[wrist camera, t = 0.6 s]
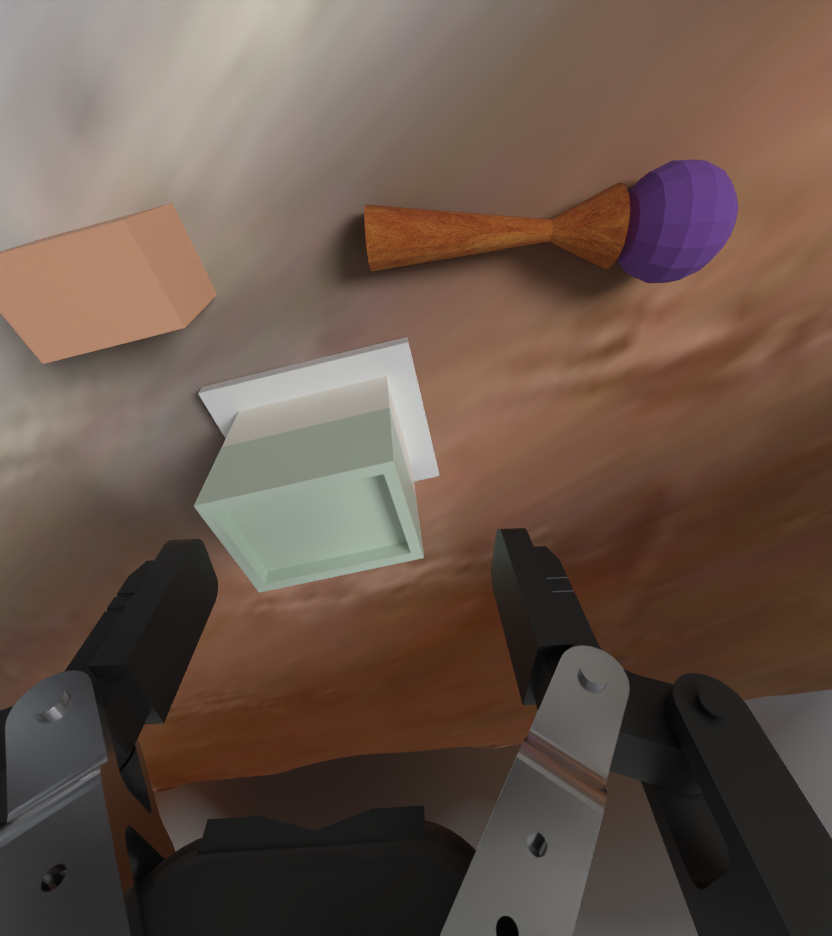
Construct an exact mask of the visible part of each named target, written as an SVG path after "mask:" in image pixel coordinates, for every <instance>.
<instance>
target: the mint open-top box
mask: <svg viewBox="0 0 832 936" xmlns="http://www.w3.org/2000/svg"><path fill="white" fill-rule="evenodd" d="M198 394H199V396H200V398H201V399H202V401H203V403H204V404H205V406H206V407H207V409H208V411H209V412H210V414H211V416H212V417H213V419H214V421H215V422H216V424H217V426H218V427H219V429H220V430H221V432H222V434H223V435H224V437H225V441H224V443H223V445H222V448H221V450H220V452H219V454H218V456H217V458H216V460H215V462H214V464H213V466H212V469H211V471H210V473H209V475H208V477H207V479H206V481H205V483H204V485H203V488H202V490H201V492H200V494H199V496H198V498H197V500H196V502H195V504H194V507H195V509H196V510H197V511H198V513H199V514H200V515H201V517H202V518H203V519H204V521H205V522H206V523H207V524H208V526H209V527H210V528H211V530H212V531H213V532H214V534H215V535H216V536H217V538H218V539H219V540H220V542H221V543H222V544H223V546H224V547H225V548H226V549H227V551H228V552H229V553H230V555H231V556H232V557H233V559H234V560H235V561H236V563H237V564H238V565H239V567H240V568H241V569H242V571H243V572H244V573H245V574H246V576H247V577H248V578H249V580H250V581H251V582H252V584H253V585H254V586H255V588H256V589H257V590H258V592H259V593H260V592H264V591H269V590H274V589H279V588H283V587H288V586H293V585H298V584H302V583H307V582H312V581H317V580H321V579H326V578H331V577H336V576H340V575H345V574H350V573H355V572H359V571H364V570H369V569H374V568H378V567H383V566H388V565H393V564H397V563H402V562H407V561H412V560H416V559H421V558H424V554H423V547H422V539H421V531H420V524H419V516H418V509H417V501H416V494H415V486H414V481H418V480H423V479H427V478H432V477H436V476H439V471H438V467H437V462H436V458H435V454H434V449H433V445H432V441H431V437H430V432H429V428H428V424H427V419H426V415H425V411H424V407H423V402H422V398H421V394H420V389H419V385H418V381H417V377H416V372H415V368H414V364H413V359H412V355H411V351H410V346H409V342H408V338H407V337H404V338H400V339H396V340H392V341H388V342H384V343H380V344H375V345H371V346H367V347H363V348H359V349H355V350H351V351H347V352H343V353H339V354H335V355H330V356H326V357H322V358H318V359H314V360H310V361H306V362H302V363H298V364H294V365H289V366H285V367H281V368H277V369H273V370H269V371H265V372H261V373H257V374H253V375H249V376H244V377H240V378H236V379H232V380H228V381H224V382H220V383H216V384H212V385H208V386H203V387H202V388H201V390H200V391H199V393H198Z"/></svg>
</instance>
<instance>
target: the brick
mask: <svg viewBox="0 0 832 936" xmlns="http://www.w3.org/2000/svg"><path fill="white" fill-rule="evenodd" d="M216 295H217V293H216V291H215V289H214V287H213V285H212V283H211V281H210V279H209V277H208V275H207V273H206V271H205V269H204V267H203V265H202V263H201V261H200V259H199V257H198V255H197V253H196V251H195V249H194V247H193V245H192V243H191V241H190V239H189V237H188V235H187V233H186V231H185V229H184V227H183V225H182V223H181V221H180V219H179V217H178V215H177V212H176V210H175V208H174V206H173V204H172V203H171V204H168V205H164V206H161V207H157V208H153V209H150V210H146V211H142V212H139V213H135V214H131V215H128V216H124V217H120V218H117V219H113V220H109V221H106V222H102V223H98V224H95V225H91V226H87V227H84V228H80V229H77V230H73V231H69V232H66V233H62V234H58V235H55V236H51V237H47V238H44V239H40V240H37V241H33V242H30V243H27V244H24V245H21V246H17V247H14V248H11V249H8V250H4V251H1V252H0V313H1V314H2V316H3V317H4V318H5V319H6V320H7V322H8V323H9V324H10V325H11V326H12V328H13V329H14V330H15V331H16V332H17V334H18V335H19V336H20V337H21V338H22V340H23V341H24V342H25V343H26V344H27V346H28V347H29V348H30V349H31V350H32V352H33V353H34V354H35V355H36V357H37V358H38V359H39V360H40V361H41V363H42V364H45V363H49V362H53V361H57V360H61V359H65V358H69V357H73V356H77V355H81V354H85V353H89V352H92V351H96V350H100V349H104V348H108V347H112V346H116V345H120V344H124V343H128V342H132V341H136V340H140V339H144V338H148V337H152V336H156V335H159V334H163V333H167V332H171V331H175V330H179V329H183V328H185V327H186V326H187V325H188V324H189V323H190V322H191V321H192V320H193V319H194V318H195V317H196V316H197V315H198V314H199V313H200V312H201V311H202V310H203V309H204V308H205V307H206V306H207V305H208V304H209V303H210V302H211V301H212V299H213V298H214V297H215V296H216Z"/></svg>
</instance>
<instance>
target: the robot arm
mask: <svg viewBox="0 0 832 936" xmlns="http://www.w3.org/2000/svg"><path fill="white" fill-rule="evenodd" d="M491 578H492V587H493V591H494V595H495V599H496V603H497V607H498V611H499V615H500V618H501V622H502V626H503V630H504V634H505V638H506V642H507V646H508V649H509V653H510V657H511V661H512V665H513V669H514V673H515V676H516V680H517V684H518V688H519V692H520V696H521V700H522V704H523V705H537V709H538V713H537V715H536V717H535V720H534V722H533V724H532V727H531V729H530V731H529V734H528V736H527V738H525V740H524V742H523V744H522V746H521V748H520V750H519V752H518V755H517V757H516V760H515V762H514V764H513V766H512V769H511V771H510V774H509V776H508V778H507V780H506V783H505V785H504V787H503V790H502V792H501V794H500V797H499V799H498V801H497V804H496V806H495V808H494V811H493V813H492V815H491V818H490V820H489V822H488V824H487V827H486V829H485V831H484V834H483V836H482V839H481V841H480V843H479V845H478V848H477V850H475V849H474V848H473V847H472V846H471V845H470V844H469V843H468V842H466V841H465V840H464V839H463V838H462V837H460V836H459V835H457V834H456V833H454V832H453V831H451V830H450V829H448V828H446V827H444V826H441V825H439V824H437V823H434V822H430V821H427V820H425V817H424V806H409V807H392V808H376V809H370V810H367V811H365V812H362V813H360V814H357V815H354V816H352V817H349V818H347V819H344V820H341V821H339V822H336V823H334V824H331V825H329V826H326V827H323V828H321V829H317V830H311V829H306V828H303V827H300V826H296V825H292V824H289V823H285V822H282V821H278V820H275V819H271V818H267V817H264V816H252V817H236V818H221V819H208V820H207V824H206V827H205V831H204V834H203V838H200V839H197V840H195V841H194V842H192V843H190V844H188V845H186V846H184V847H182V848H181V849H179V850H178V851H176V852H175V849H174V846H173V844H172V841H171V839H170V837H169V835H168V833H167V831H166V829H165V828H164V825H163V823H162V821H161V818H160V815H159V811H158V808H157V804H156V801H155V797H154V793H153V790H152V786H151V782H150V779H149V775H148V771H147V768H146V764H145V760H144V757H143V753H142V749H141V746H140V743H139V741H138V740H137V739H138V737H139V734H140V732H141V730H142V728H143V726H144V724H158V723H164V722H165V719H166V717H167V715H168V712H169V710H170V707H171V705H172V703H173V700H174V698H175V696H176V693H177V691H178V689H179V686H180V684H181V681H182V679H183V677H184V674H185V672H186V670H187V667H188V665H189V663H190V660H191V658H192V655H193V653H194V651H195V648H196V646H197V644H198V641H199V639H200V637H201V634H202V632H203V629H204V627H205V625H206V622H207V620H208V618H209V615H210V613H211V610H212V608H213V606H214V603H215V601H216V598H217V592H218V581H217V577H216V574H215V571H214V569H213V566H212V564H211V561H210V558H209V556H208V553H207V550H206V548H205V545H204V543H203V541H202V540H200V539H189V540H170V541H168V542H167V543H166V544H165V545H164V546H163V548H162V549H161V551H160V553H159V554H158V556H157V557H156V559H155V560H154V561H146V562H145V563H144V564H143V565H142V566H140V567H139V568H138V569H137V570H136V571H134V572H133V573H132V574H131V575H130V576H129V577H128V578H127V580H126V581H125V583H124V584H123V586H122V587H121V589H120V590H119V592H118V593H117V597H114V599H113V600H112V602H111V603H110V605H109V606H108V608H107V609H108V610H107V612H104V614H103V615H102V617H101V618H100V620H99V621H98V623H97V624H96V626H95V627H94V629H93V630H92V632H91V633H90V635H89V636H88V637H87V639H86V640H85V642H84V643H83V645H82V646H81V648H80V649H79V651H78V652H77V654H76V655H75V657H74V658H73V660H72V661H71V663H70V664H69V666H68V667H67V668H66V670H65V671H64V672H61V673H58V674H55V675H53V676H50V677H48V678H46V679H45V680H43V681H41V682H39V683H38V684H36V685H35V686H33V687H32V688H31V689H30V690H28V691H27V692H26V693H25V694H24V695H23V696H22V697H21V698H20V699H19V700H18V701H17V702H16V704H15V705H14V706H12V707H10V708H6V709H3V710H0V936H572V935H573V931H574V927H575V923H576V919H577V915H578V911H579V907H580V903H581V899H582V895H583V891H584V887H585V883H586V879H587V876H588V871H589V868H590V863H591V860H592V856H593V852H594V848H595V844H596V839H597V836H598V832H599V827H600V824H601V820H602V816H603V812H604V807H605V803H606V796H607V791H606V790H605V786H606V781H607V777H608V773H609V771H611V772H614V773H618V774H621V775H624V776H627V777H630V778H634V779H637V780H640V781H641V783H642V785H643V788H644V791H645V793H646V796H647V799H648V801H649V804H650V807H651V809H652V812H653V815H654V818H655V820H656V823H657V826H658V828H659V831H660V833H661V836H662V839H663V842H664V844H665V847H666V849H667V852H668V855H669V858H670V860H671V863H672V866H673V868H674V871H675V874H676V877H677V879H678V882H679V885H680V887H681V890H682V893H683V895H684V898H685V900H686V903H687V906H688V909H689V911H690V914H691V917H692V919H693V922H694V925H695V927H696V930H697V933H698V936H832V839H831V837H830V836H829V834H828V832H827V831H826V829H825V828H824V826H823V825H822V823H821V821H820V820H819V818H818V817H817V815H816V813H815V812H814V810H813V809H812V807H811V805H810V804H809V802H808V801H807V799H806V798H805V796H804V794H803V793H802V791H801V790H800V788H799V787H798V785H797V783H796V782H795V780H794V779H793V777H792V776H791V774H790V772H789V771H788V769H787V768H786V766H785V764H784V763H783V761H782V760H781V758H780V757H779V755H778V753H777V752H776V750H775V749H774V747H773V745H772V744H771V742H770V741H769V739H768V738H767V736H766V734H765V733H764V731H763V730H762V728H761V726H760V725H759V723H758V722H757V720H756V719H755V717H754V716H753V714H752V712H751V711H750V709H749V708H748V706H747V705H746V703H745V702H744V701H743V700H742V698H741V697H740V696H739V695H738V694H737V693H736V692H735V691H733V690H732V689H731V688H730V687H728V686H727V685H725V684H724V683H722V682H721V681H719V680H717V679H715V678H713V677H710V676H707V675H703V674H697V673H690V674H685V675H682V676H681V677H679V678H678V679H677V680H676V682H675V683H674V684H670V683H666V682H662V681H658V680H655V679H651V678H647V677H643V676H639V675H636V674H633V673H631V672H629V671H626V670H625V669H623V668H622V667H621V665H620V664H619V663H618V662H617V661H616V660H615V659H614V658H613V657H612V656H610V655H609V654H607V653H606V652H604V651H602V649H601V648H600V646H599V644H598V643H597V640H596V638H595V636H594V634H593V632H592V630H591V627H590V625H589V623H588V621H587V619H586V616H585V614H584V612H583V610H582V608H581V606H580V603H579V601H578V599H577V597H576V595H575V593H573V588H572V586H571V584H570V582H569V579H567V575H566V573H565V571H564V569H563V566H562V564H561V562H560V560H559V559H558V558H557V557H556V556H555V555H554V554H553V553H552V552H551V551H550V550H549V549H548V548H547V547H546V546H543V547H533V544H532V542H531V539H530V537H529V534H528V532H527V530H526V529H525V528H515V529H498V530H497V532H496V538H495V546H494V553H493V560H492V568H491Z"/></svg>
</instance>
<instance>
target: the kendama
mask: <svg viewBox="0 0 832 936" xmlns="http://www.w3.org/2000/svg"><path fill="white" fill-rule="evenodd" d="M737 211H738V202H737V195H736V192H735V190H734V187H733V184H732V181H731V180H730V178H729V177H728V175H727V174H726V173H725V171H724V170H722V169H720V168H719V167H717V166H715V165H713V164H711V163H710V162H708V161H702V160H678V161H671V162H669V163H667V164H665V165H663V166H661V167H659V168H657V169H655V170H653V171H651V172H649V173H648V174H646V175H645V176H644V177H642V178H641V179H640V180H639V181H638V182H637V183H636V184H635V185H634V186H633V188H632V189H631V190H630V191H629V192H628V190H627V188H626V186H625V184H622V183H617V184H615V185H614V186H612V187H610V188H608V189H606V190H604V191H602V192H601V193H599V194H597V195H595V196H593V197H591V198H590V199H588V200H586V201H584V202H582V203H580V204H578V205H577V206H575V207H573V208H571V209H569V210H567V211H566V212H564V213H562V214H560V215H558V216H556V217H554V218H553V219H551V220H550V219H537V218H525V217H512V216H500V215H487V214H475V213H462V212H450V211H437V210H425V209H412V208H400V207H387V206H374V205H365V212H364V218H365V238H366V248H367V256H368V263H369V267H370V270H371V271H377V270H383V269H389V268H395V267H401V266H407V265H413V264H419V263H425V262H431V261H437V260H442V259H448V258H454V257H460V256H466V255H472V254H478V253H484V252H490V251H496V250H502V249H508V248H514V247H520V246H526V245H532V244H538V243H544V242H550V243H552V244H554V245H557V246H559V247H561V248H563V249H565V250H567V251H569V252H571V253H573V254H575V255H577V256H579V257H581V258H583V259H585V260H587V261H589V262H592V263H594V264H596V265H598V266H600V267H602V268H604V269H608V268H610V267H612V266H613V265H614V263H615V262H616V261H618V263H619V264H620V266H621V267H622V268H623V270H624V271H625V272H626V273H628V274H629V275H631V276H633V277H635V278H637V279H640V280H642V281H644V282H646V283H665V282H672V281H676V280H680V279H682V278H684V277H686V276H688V275H691V274H693V273H695V272H697V271H699V270H701V269H702V268H703V267H704V266H705V265H706V264H707V263H708V262H710V261H711V260H712V259H713V258H714V256H715V255H716V254H717V253H718V252H719V251H720V250H721V249H722V248H723V246H724V245H725V243H726V242H727V240H728V239H729V237H730V235H731V233H732V230H733V228H734V225H735V222H736V217H737Z"/></svg>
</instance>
